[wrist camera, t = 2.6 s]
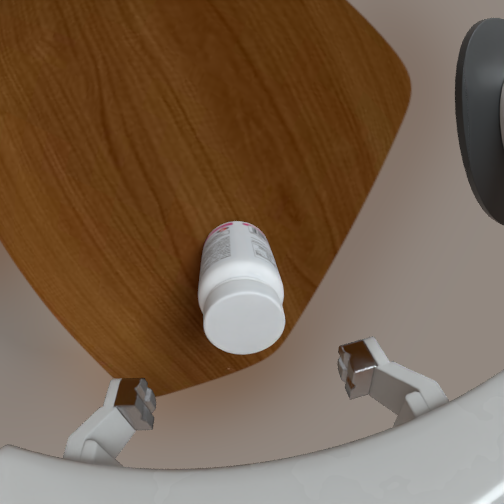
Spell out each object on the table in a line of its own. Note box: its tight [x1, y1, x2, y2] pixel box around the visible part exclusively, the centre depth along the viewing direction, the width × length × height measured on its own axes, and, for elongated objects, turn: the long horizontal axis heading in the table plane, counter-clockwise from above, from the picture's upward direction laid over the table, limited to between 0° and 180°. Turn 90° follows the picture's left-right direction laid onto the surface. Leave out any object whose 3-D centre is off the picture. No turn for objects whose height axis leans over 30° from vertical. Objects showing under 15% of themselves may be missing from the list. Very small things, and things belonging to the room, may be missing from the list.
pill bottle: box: [198, 221, 285, 354], centre depth 18 cm, size 5×5×8 cm
